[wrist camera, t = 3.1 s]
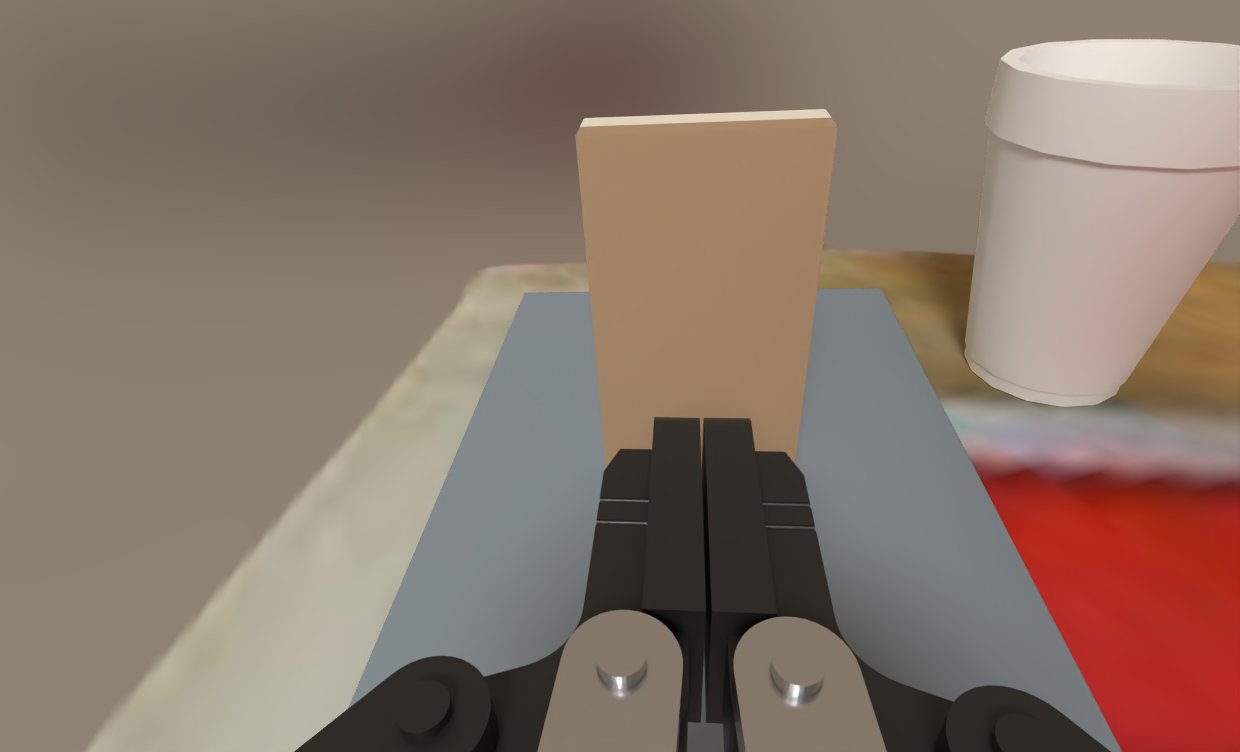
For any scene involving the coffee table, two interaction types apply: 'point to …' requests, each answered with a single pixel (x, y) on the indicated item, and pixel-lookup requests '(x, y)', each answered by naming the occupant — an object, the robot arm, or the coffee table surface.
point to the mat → (839, 498)
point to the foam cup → (1098, 207)
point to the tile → (704, 267)
